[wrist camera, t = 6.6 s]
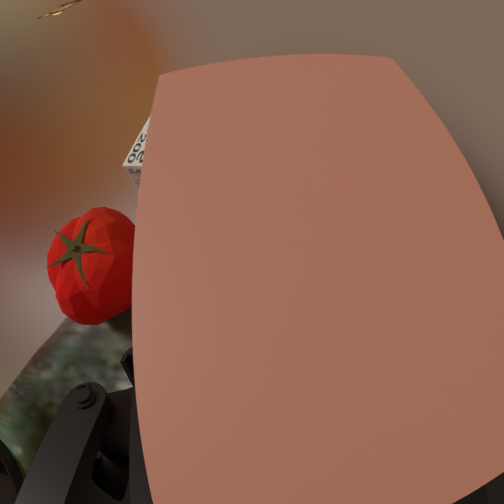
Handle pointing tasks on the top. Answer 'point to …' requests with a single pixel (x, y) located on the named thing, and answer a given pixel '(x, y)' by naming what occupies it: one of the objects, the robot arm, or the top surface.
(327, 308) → the stub
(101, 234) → the tomato
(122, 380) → the top surface
